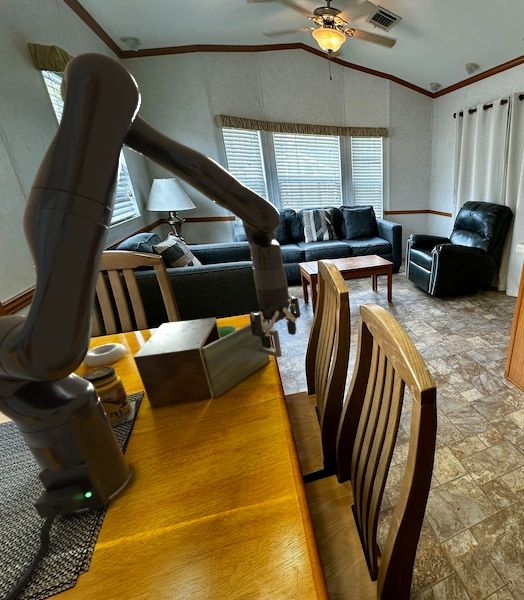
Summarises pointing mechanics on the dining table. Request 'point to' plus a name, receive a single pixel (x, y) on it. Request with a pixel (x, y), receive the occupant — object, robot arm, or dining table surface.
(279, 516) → the dining table surface
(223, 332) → the ramekin
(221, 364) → the door
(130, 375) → the dining table surface
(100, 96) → the robot arm
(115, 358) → the donut
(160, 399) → the cupboard
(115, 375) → the condiment
